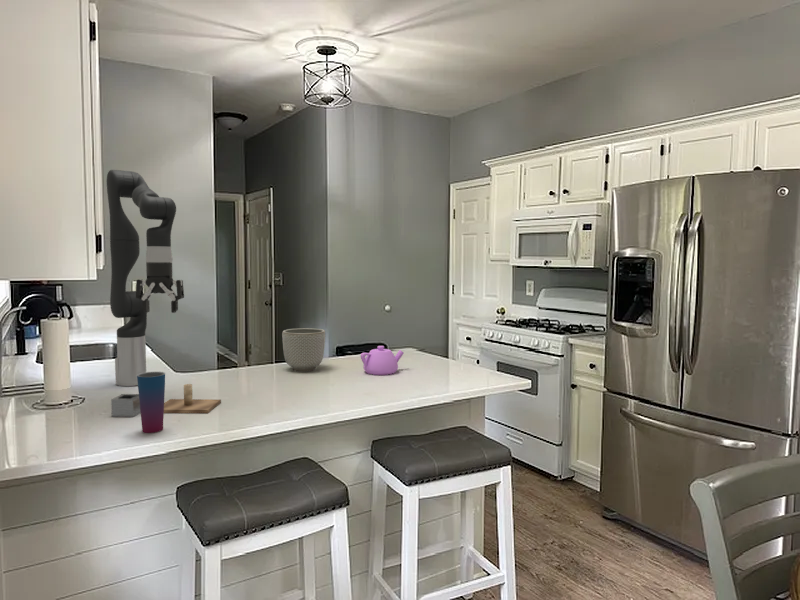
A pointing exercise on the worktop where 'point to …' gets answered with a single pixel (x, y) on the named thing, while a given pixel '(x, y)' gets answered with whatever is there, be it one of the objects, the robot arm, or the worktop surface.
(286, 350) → the planter
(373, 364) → the teapot
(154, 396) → the cup
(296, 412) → the worktop surface
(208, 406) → the post board
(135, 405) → the collar
